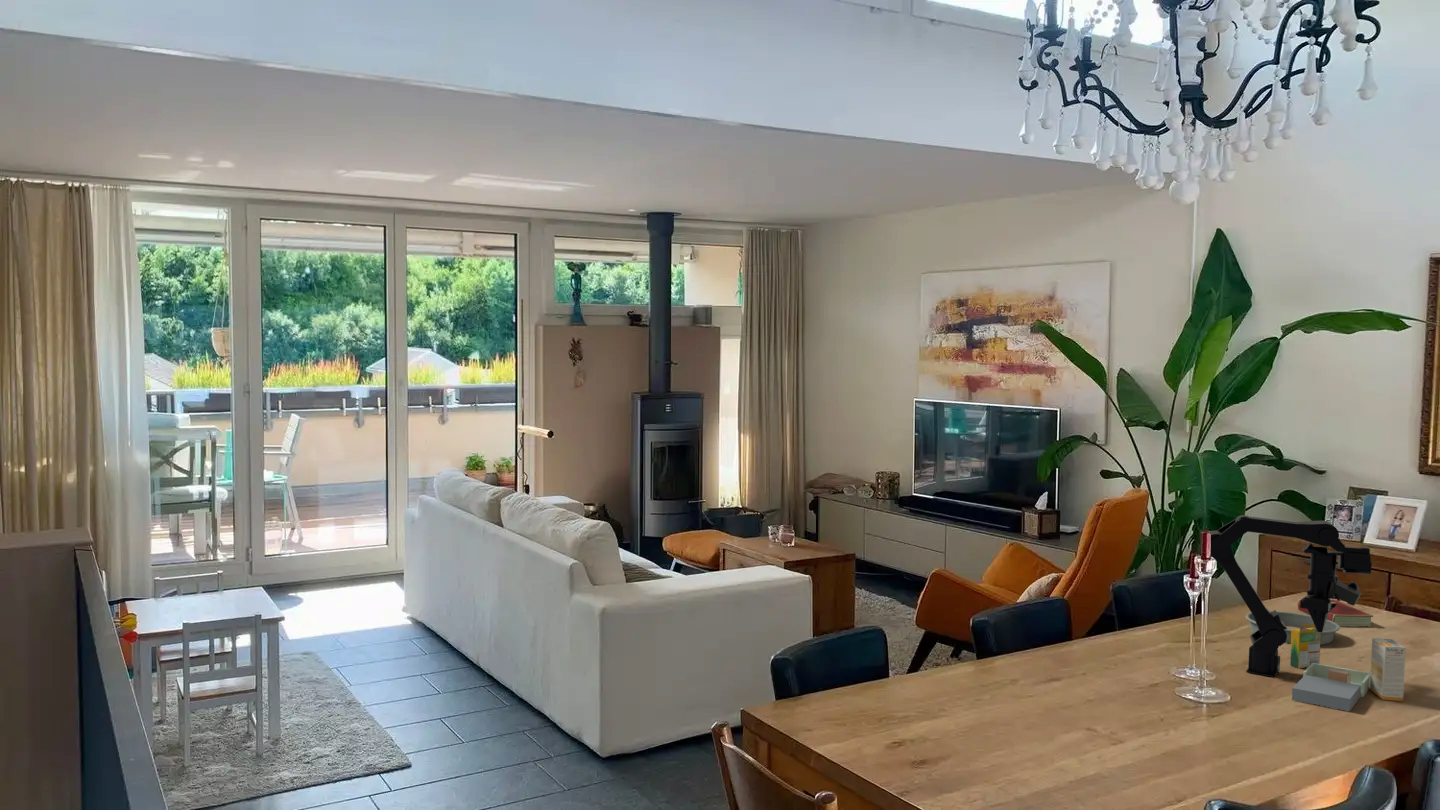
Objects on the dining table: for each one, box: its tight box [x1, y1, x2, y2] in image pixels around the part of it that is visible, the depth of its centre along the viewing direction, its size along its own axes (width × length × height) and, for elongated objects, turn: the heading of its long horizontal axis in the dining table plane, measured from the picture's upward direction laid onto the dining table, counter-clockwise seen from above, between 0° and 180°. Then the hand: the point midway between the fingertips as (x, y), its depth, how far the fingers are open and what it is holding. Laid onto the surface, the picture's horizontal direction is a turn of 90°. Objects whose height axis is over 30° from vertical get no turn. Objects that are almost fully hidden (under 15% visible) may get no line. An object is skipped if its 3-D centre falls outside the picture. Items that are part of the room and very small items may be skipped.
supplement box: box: [1369, 638, 1407, 702], centre depth 262 cm, size 8×5×13 cm, turn 168°
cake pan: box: [1245, 610, 1341, 645], centre depth 318 cm, size 25×25×4 cm
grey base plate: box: [1291, 675, 1361, 712], centre depth 259 cm, size 12×14×3 cm
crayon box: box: [1289, 624, 1321, 669], centre depth 286 cm, size 7×3×12 cm, turn 108°
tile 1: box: [1328, 669, 1349, 683], centre depth 267 cm, size 4×4×2 cm
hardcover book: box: [1297, 598, 1374, 628], centre depth 339 cm, size 12×21×4 cm, turn 179°
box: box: [1302, 663, 1371, 698], centre depth 269 cm, size 13×11×4 cm
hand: (1320, 631), depth 275 cm, fingers closed
